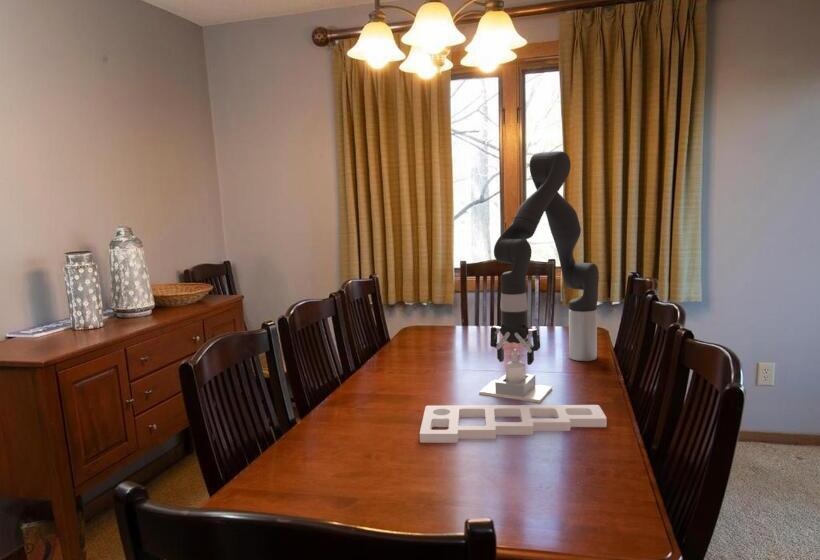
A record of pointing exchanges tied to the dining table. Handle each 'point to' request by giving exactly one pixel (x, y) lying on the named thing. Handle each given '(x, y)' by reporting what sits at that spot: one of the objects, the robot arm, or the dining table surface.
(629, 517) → the dining table surface
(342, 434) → the dining table surface
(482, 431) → the holder
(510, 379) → the eye dropper bottle
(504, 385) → the holder stand
